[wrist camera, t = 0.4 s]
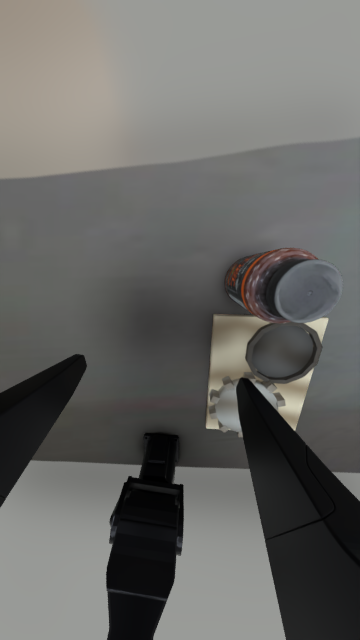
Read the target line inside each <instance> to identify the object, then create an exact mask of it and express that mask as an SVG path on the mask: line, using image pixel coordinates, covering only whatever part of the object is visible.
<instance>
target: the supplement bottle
mask: <svg viewBox="0 0 360 640" xmlns="http://www.w3.org/2000/svg"><path fill="white" fill-rule="evenodd" d="M225 288H226V291H227V293H228V295H229V296H230V297H231V299H233V300H234V301H235V302H236V303H238V304H239V305H241V306H242V307H243V308H245V309H246V310H248V311H249V312H250V313H252V314H253V315H255V316H256V317H258V318H259V319H262V320H264V321H266V322H270V323H287V322H295V323H307V322H313V321H315V320H317V319H320V318H322V317H323V316H325V315H326V314H328V313H329V312H330V311H331V310H332V309H333V308H334V307H335V306H336V304H337V303H338V301H339V299H340V297H341V295H342V291H343V278H342V275H341V273H340V271H339V270H338V269H337V267H336V266H334V265H333V264H332V263H330V262H327V261H325V260H319V259H318V258H317V257H316V256H314V255H313V254H311V253H310V252H308V251H305V250H303V249H298V248H282V249H277V250H273V251H268V252H264V253H260V254H256V255H251V256H247V257H244V258H242V259H240V260H238V261H237V262H235V263H234V264H233V265H232V266H231V267H230V269H229V270H228V272H227V275H226V279H225Z"/></svg>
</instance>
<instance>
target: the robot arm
mask: <svg viewBox="0 0 360 640" xmlns="http://www.w3.org/2000/svg"><path fill="white" fill-rule="evenodd" d="M86 367H87V364H86V361H85V357H84V355H80V354H75V355H73V356H71V357H69V358H67V359H65V360H63V361H61V362H59V363H58V364H56V365H54V366H52V367H50V368H48V369H46V370H44V371H42V372H40V373H38V374H36V375H34V376H32V377H30V378H29V379H27V380H25V381H23V382H21V383H19V384H17V385H15V386H13V387H11V388H9V389H7V390H5V391H3V392H1V393H0V507H1V506H2V504H3V503H4V501H5V499H6V497H7V496H8V495H9V493H10V491H11V490H12V488H13V487H14V485H15V484H16V482H17V480H18V479H19V477H20V476H21V474H22V473H23V471H24V469H25V468H26V467H27V465H28V463H29V462H30V460H31V459H32V457H33V456H34V454H35V453H36V451H37V449H38V448H39V446H40V445H41V443H42V442H43V440H44V439H45V437H46V435H47V434H48V432H49V431H50V429H51V428H52V426H53V425H54V423H55V421H56V420H57V418H58V417H59V415H60V414H61V412H62V411H63V409H64V407H65V406H66V404H67V403H68V401H69V400H70V398H71V397H72V395H73V393H74V391H75V389H76V388H77V386H78V384H79V382H80V380H81V378H82V376H83V374H84V372H85V370H86ZM236 395H237V404H238V414H239V421H240V426H241V430H242V435H243V440H244V444H245V449H246V454H247V458H248V463H249V468H250V472H251V477H252V482H253V486H254V491H255V495H256V500H257V505H258V509H259V514H260V519H261V524H262V528H263V533H264V538H265V543H266V548H267V552H268V557H269V562H270V566H271V571H272V576H273V580H274V585H275V590H276V594H277V599H278V604H279V609H280V613H281V618H282V623H283V627H284V632H285V637H286V640H360V501H359V500H358V499H357V498H356V497H355V496H354V495H353V494H352V493H351V492H350V491H349V490H348V489H347V488H346V487H345V486H344V485H343V484H342V483H341V482H340V481H339V480H338V478H337V477H336V476H335V475H334V474H333V473H332V472H331V471H330V470H329V469H328V468H327V467H326V466H325V465H324V463H323V462H322V461H321V460H320V459H319V458H318V457H317V456H316V455H315V453H314V452H313V451H312V450H311V449H310V448H309V447H308V445H306V444H305V442H304V441H303V440H302V439H301V438H300V436H299V435H298V434H297V433H296V432H295V431H294V430H293V428H292V427H291V426H290V425H289V424H288V423H287V422H286V420H285V419H284V418H283V417H282V416H281V415H280V414H279V412H278V411H277V410H276V409H275V408H274V407H273V406H272V404H271V403H270V402H269V401H268V400H267V399H266V398H265V396H264V395H263V394H262V393H261V392H260V391H259V390H258V388H257V387H256V386H255V385H254V384H253V383H252V382H251V380H250V379H248V378H244V377H241V378H240V379H239V381H238V384H237V386H236ZM143 439H144V451H145V455H144V459H143V463H142V467H141V471H140V475H139V478H133V477H132V476H129V477H128V480H127V482H125V483H124V486H123V489H122V492H121V495H120V498H119V500H118V502H117V504H116V507H115V509H114V511H113V513H112V515H111V518H110V526H111V533H110V540H109V543H110V544H113V545H112V549H111V553H110V557H109V561H108V565H107V572H106V580H107V581H106V584H107V585H106V586H107V591H108V609H109V633H108V638H107V640H153V636H154V633H155V630H156V628H157V625H158V623H159V620H160V617H161V615H162V612H163V609H164V607H165V604H166V601H167V599H168V596H169V594H170V591H171V588H172V586H173V583H174V579H175V566H176V555H179V556H180V555H181V551H182V541H183V521H184V518H183V517H184V506H183V484H180V485H178V484H174V475H175V462H178V460H179V437H178V436H172V435H156V434H144V437H143Z"/></svg>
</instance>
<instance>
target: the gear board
mask: <svg viewBox="0 0 360 640" xmlns="http://www.w3.org/2000/svg"><path fill="white" fill-rule="evenodd" d="M328 319H329V318H326V317H322V318H320V319H317V320H315V321H313V322H307V323H295V322H287V323H270V322H266V321H264V320H262V319H259V318H258V317H256V316H255V315H237V314H213V326H212V340H211V354H210V368H209V382H208V396H207V410H206V428H207V429H220V430H221V431H223V432H224V433H225V432H226V431H227V430H233V431H236V432H237V434H238V437H243V435H242V430H241V426H240V421H239V414H238V404H237V395H236V386H237V384H238V381H239V379H240V378H241V377H244V378H248V379H250V380H251V382H252V383H253V384H254V385H255V386H256V387H257V388H258V390H259V391H260V392H261V393H262V394H263V395H264V396H265V398H266V399H267V400H268V401H269V402H270V403H271V404H272V406H273V407H274V408H275V409H276V410H277V411H278V412H279V414H280V415H281V416H282V417H283V418H284V419H285V420H286V422H287V423H288V424H289V425H290V426H291V427H292V428H293V430H294V431H295V429H296V426H297V422H298V419H299V416H300V412H301V409H302V406H303V402H304V399H305V396H306V392H307V389H308V386H309V382H310V379H311V376H312V372H313V369H314V367H315V366H316V365H317V364H318V361H319V357H320V354H321V351H322V344H321V342H322V339H323V336H324V332H325V329H326V326H327V322H328Z"/></svg>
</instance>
